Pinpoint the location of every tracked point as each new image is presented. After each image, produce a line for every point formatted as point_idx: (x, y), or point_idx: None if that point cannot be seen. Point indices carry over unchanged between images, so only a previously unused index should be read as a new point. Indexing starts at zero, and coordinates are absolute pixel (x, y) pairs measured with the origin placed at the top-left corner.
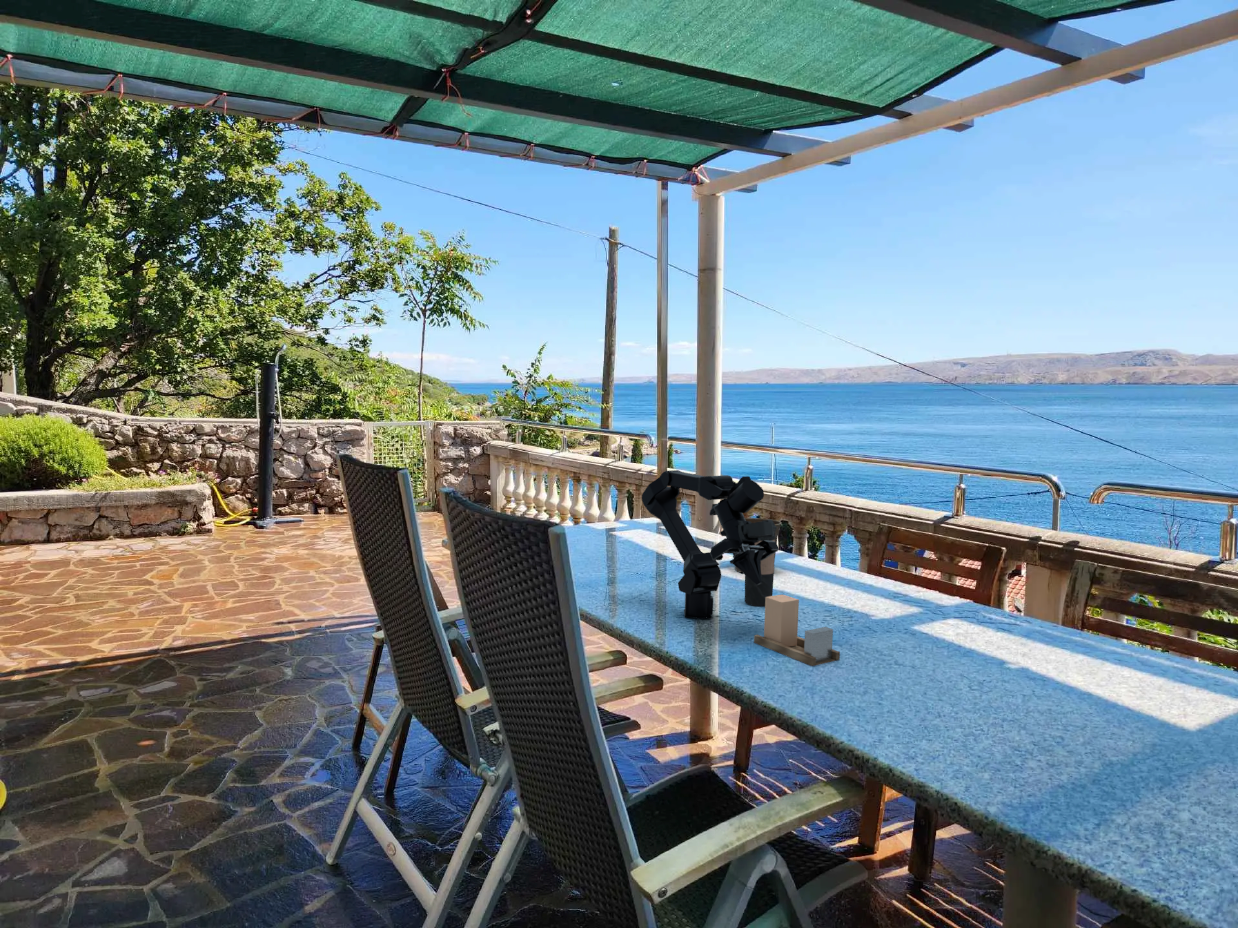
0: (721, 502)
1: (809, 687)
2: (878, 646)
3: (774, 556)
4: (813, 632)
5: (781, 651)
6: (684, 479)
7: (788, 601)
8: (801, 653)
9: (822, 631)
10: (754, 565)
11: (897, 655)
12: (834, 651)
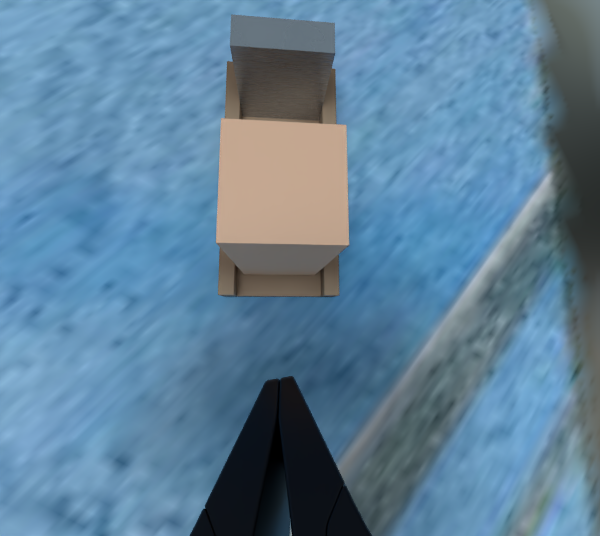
0: None
1: (411, 31)
2: (6, 114)
3: None
4: (322, 28)
5: None
6: None
7: (299, 123)
8: (332, 107)
9: (284, 20)
10: (318, 533)
11: (37, 44)
12: None
